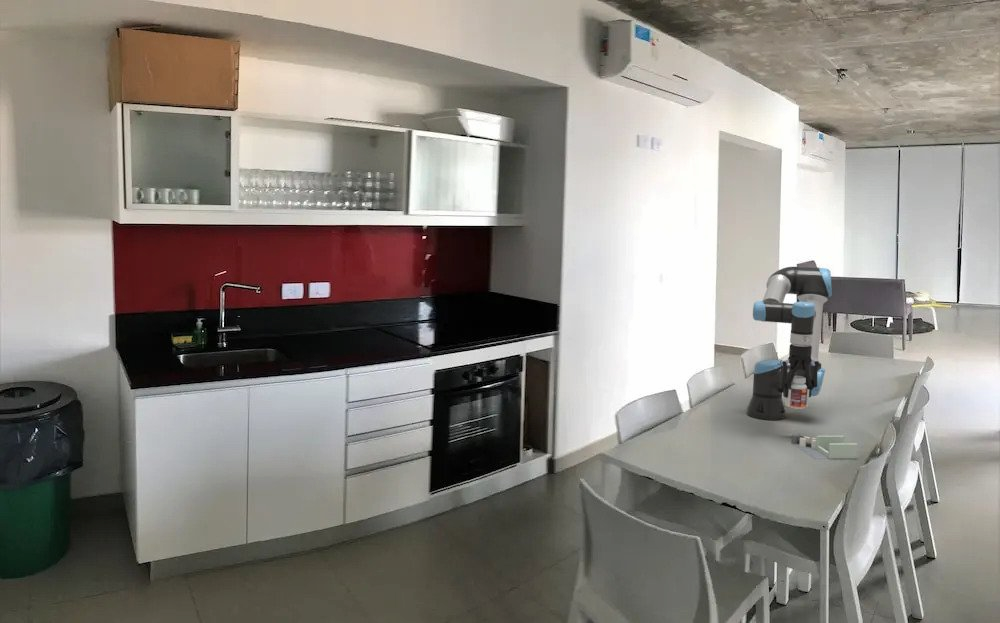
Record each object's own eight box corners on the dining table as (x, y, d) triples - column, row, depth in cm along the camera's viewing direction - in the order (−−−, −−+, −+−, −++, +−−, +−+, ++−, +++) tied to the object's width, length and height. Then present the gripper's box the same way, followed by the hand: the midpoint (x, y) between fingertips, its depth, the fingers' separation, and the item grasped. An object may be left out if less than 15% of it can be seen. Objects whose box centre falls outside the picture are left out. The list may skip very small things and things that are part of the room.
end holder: (815, 449, 258) (816, 435, 257) (841, 449, 259) (843, 435, 258) (829, 458, 249) (830, 444, 248) (856, 458, 249) (857, 444, 248)
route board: (789, 444, 267) (790, 433, 266) (829, 444, 268) (830, 433, 267) (814, 462, 248) (815, 450, 248) (857, 462, 249) (858, 450, 249)
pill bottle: (804, 410, 266) (806, 380, 264) (786, 407, 269) (788, 377, 267) (806, 406, 271) (808, 376, 269) (788, 403, 274) (790, 374, 272)
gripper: (779, 346, 262) (775, 409, 265) (831, 346, 263) (826, 408, 267) (770, 342, 269) (766, 403, 273) (821, 342, 270) (816, 402, 274)
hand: (796, 405), depth 270 cm, fingers closed on pill bottle, 6 cm apart
